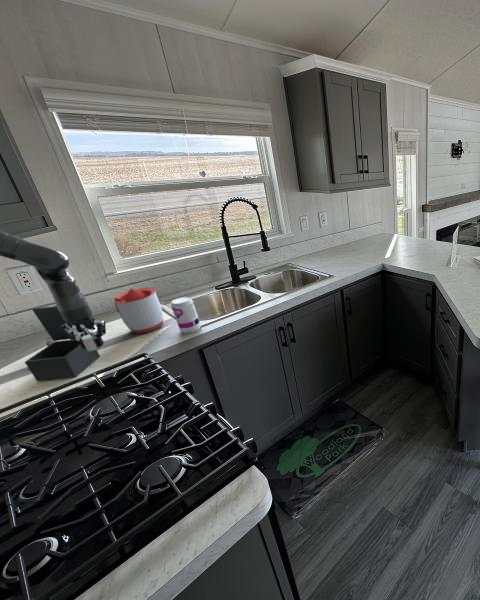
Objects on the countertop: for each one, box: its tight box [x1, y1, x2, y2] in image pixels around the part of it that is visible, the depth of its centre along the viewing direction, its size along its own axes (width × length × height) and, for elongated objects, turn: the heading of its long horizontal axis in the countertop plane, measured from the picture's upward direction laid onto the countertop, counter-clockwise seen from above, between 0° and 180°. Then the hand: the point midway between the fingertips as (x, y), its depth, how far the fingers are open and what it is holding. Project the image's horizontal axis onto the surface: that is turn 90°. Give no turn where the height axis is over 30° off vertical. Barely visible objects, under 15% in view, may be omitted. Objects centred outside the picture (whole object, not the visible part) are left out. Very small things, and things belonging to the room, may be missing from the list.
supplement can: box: [170, 296, 202, 334], centre depth 147 cm, size 8×8×15 cm
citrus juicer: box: [111, 287, 164, 335], centre depth 148 cm, size 16×17×20 cm
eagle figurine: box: [46, 336, 54, 347], centre depth 133 cm, size 8×7×9 cm
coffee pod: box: [81, 334, 99, 351], centre depth 120 cm, size 4×4×5 cm
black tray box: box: [24, 339, 101, 382], centre depth 124 cm, size 14×13×9 cm
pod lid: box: [31, 304, 88, 342], centre depth 126 cm, size 14×13×5 cm
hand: (93, 346), depth 121 cm, fingers closed on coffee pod, 4 cm apart
